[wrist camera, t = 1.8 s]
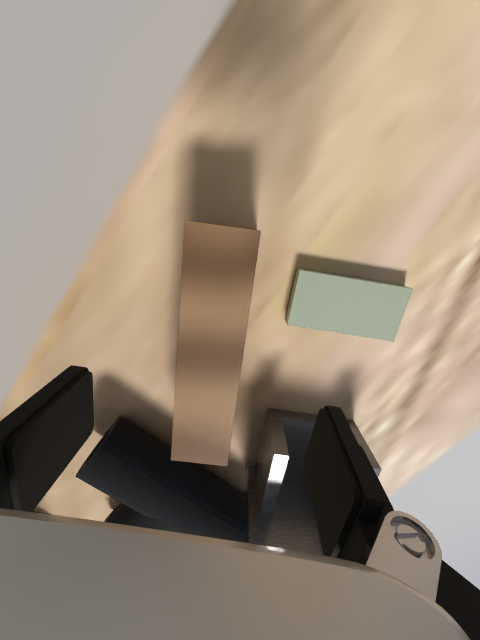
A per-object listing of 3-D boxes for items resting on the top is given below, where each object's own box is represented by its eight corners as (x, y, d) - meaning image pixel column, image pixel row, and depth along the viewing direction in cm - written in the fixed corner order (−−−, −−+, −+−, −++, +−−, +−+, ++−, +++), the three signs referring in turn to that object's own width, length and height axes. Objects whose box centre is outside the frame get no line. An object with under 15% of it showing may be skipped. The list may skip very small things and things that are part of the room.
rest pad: (386, 336, 21) (393, 341, 20) (285, 320, 21) (287, 324, 20) (404, 286, 20) (412, 288, 19) (297, 268, 19) (299, 270, 19)
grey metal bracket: (339, 484, 26) (386, 610, 17) (245, 471, 25) (246, 593, 17) (362, 422, 24) (429, 531, 15) (259, 407, 23) (268, 510, 15)
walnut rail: (230, 419, 24) (227, 466, 19) (185, 414, 24) (170, 460, 19) (256, 230, 19) (260, 230, 14) (199, 222, 19) (184, 220, 14)
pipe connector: (177, 616, 24) (23, 540, 22) (187, 551, 29) (64, 482, 27) (261, 547, 22) (98, 450, 19) (257, 488, 27) (128, 404, 24)
